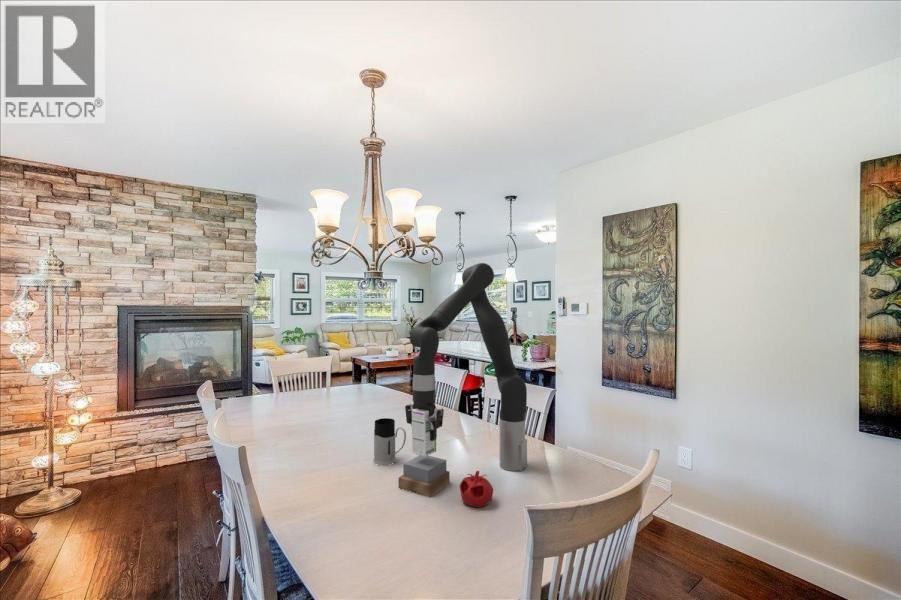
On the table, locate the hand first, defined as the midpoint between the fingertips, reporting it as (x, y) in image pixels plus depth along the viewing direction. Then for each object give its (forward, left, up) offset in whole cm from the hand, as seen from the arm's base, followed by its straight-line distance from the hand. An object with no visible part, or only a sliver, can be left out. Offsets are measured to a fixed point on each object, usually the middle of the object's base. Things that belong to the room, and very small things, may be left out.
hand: (424, 438), depth 132 cm
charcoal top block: (-1, 0, -12) cm, 12 cm away
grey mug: (+21, -9, -15) cm, 27 cm away
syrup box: (0, 0, -5) cm, 5 cm away
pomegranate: (-20, +2, -15) cm, 25 cm away
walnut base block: (-1, +1, -16) cm, 16 cm away
